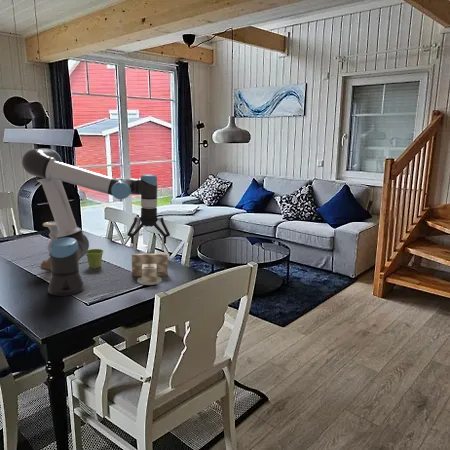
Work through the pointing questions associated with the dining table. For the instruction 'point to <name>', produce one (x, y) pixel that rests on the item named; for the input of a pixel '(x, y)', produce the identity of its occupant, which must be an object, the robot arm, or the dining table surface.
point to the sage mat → (149, 282)
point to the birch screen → (149, 259)
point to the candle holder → (53, 236)
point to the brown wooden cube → (149, 272)
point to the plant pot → (94, 257)
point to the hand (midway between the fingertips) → (148, 250)
